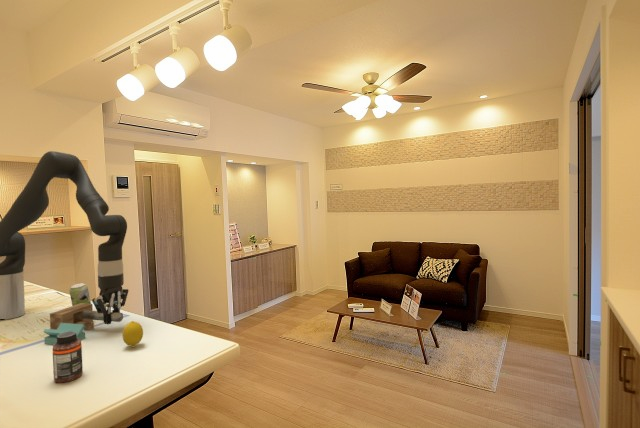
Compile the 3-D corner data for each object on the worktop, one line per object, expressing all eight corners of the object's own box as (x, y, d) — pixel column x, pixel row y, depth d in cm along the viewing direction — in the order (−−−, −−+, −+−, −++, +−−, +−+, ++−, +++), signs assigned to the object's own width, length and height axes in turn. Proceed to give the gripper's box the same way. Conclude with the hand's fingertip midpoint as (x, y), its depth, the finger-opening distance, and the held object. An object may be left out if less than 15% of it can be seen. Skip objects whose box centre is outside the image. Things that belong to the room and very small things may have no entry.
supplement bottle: (64, 372, 89) (62, 329, 88) (87, 371, 89) (86, 328, 89) (47, 384, 83) (46, 339, 82) (73, 383, 83) (71, 338, 83)
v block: (43, 344, 106) (42, 329, 106) (63, 335, 113) (63, 322, 113) (67, 346, 105) (66, 331, 104) (86, 337, 111) (85, 323, 111)
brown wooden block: (50, 333, 115) (49, 313, 114) (81, 321, 127) (80, 303, 126) (76, 336, 113) (75, 315, 113) (105, 323, 125) (105, 304, 124)
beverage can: (95, 310, 139) (94, 281, 139) (81, 316, 132) (80, 286, 132) (81, 310, 140) (80, 281, 140) (66, 316, 133) (65, 286, 132)
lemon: (147, 344, 106) (146, 319, 106) (132, 351, 101) (131, 325, 100) (134, 342, 108) (133, 317, 107) (118, 349, 102) (117, 323, 102)
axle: (81, 320, 117) (81, 311, 118) (88, 318, 120) (89, 309, 121) (116, 322, 115) (116, 313, 115) (122, 320, 118) (123, 312, 118)
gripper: (117, 268, 124) (118, 314, 125) (83, 276, 110) (85, 328, 111) (135, 269, 123) (136, 316, 123) (103, 277, 109) (104, 330, 109)
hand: (111, 321), depth 117 cm, fingers closed on axle, 3 cm apart
